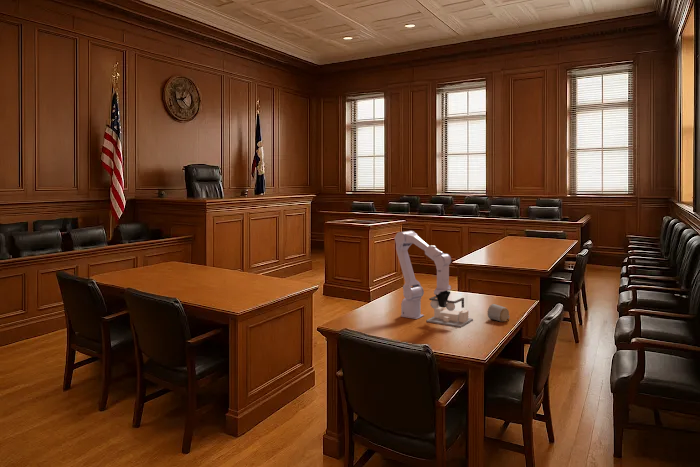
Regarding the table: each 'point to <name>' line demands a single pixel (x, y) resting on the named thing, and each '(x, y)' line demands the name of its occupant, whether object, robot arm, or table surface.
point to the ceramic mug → (498, 313)
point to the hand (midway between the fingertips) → (442, 306)
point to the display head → (450, 317)
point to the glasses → (449, 305)
